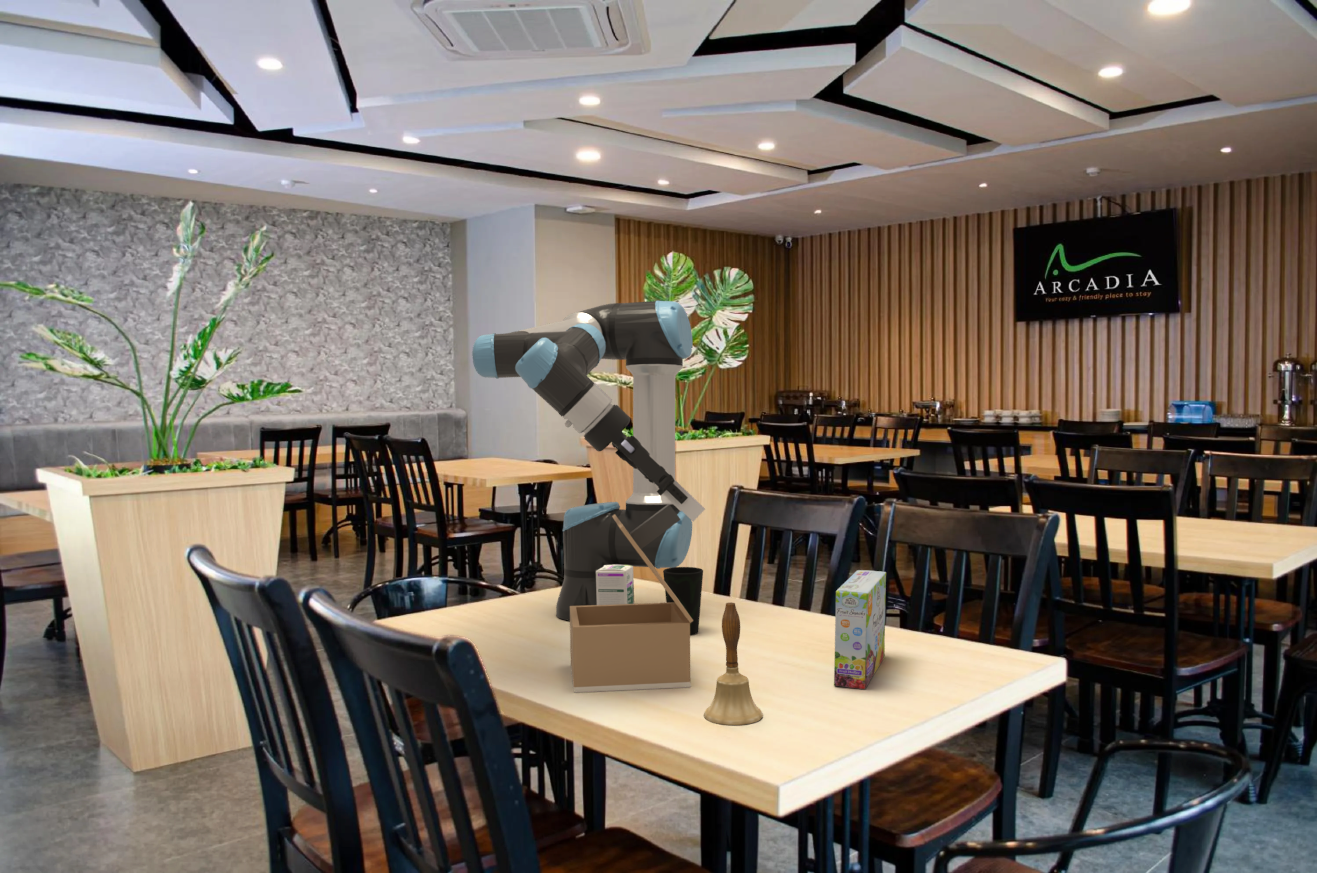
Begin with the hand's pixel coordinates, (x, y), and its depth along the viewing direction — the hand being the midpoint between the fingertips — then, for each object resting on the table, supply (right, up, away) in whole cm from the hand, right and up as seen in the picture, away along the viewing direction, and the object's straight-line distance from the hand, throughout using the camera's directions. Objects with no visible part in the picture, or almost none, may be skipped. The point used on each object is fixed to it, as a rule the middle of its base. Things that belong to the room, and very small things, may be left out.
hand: (692, 510), depth 159 cm
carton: (-10, -27, 0) cm, 29 cm away
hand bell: (+5, -28, -21) cm, 35 cm away
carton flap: (-7, -9, 0) cm, 11 cm away
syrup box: (-13, -26, +19) cm, 35 cm away
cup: (-1, -26, +29) cm, 39 cm away
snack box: (+28, -27, +1) cm, 38 cm away
